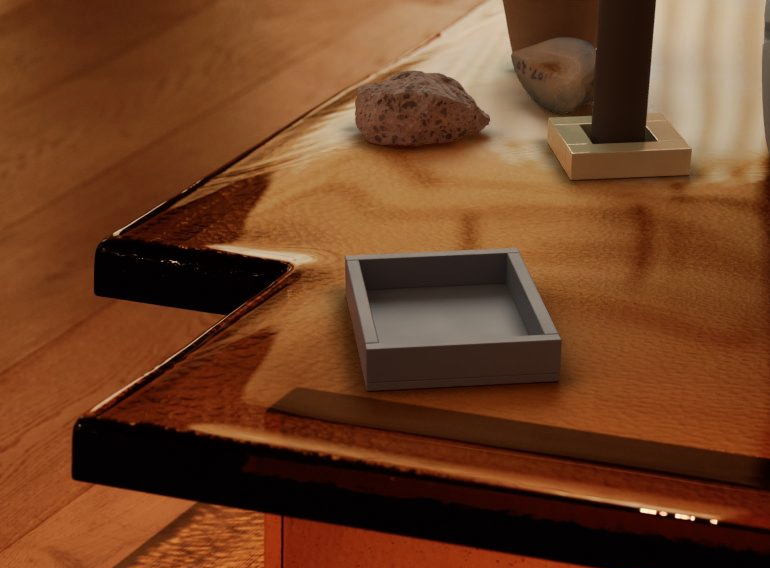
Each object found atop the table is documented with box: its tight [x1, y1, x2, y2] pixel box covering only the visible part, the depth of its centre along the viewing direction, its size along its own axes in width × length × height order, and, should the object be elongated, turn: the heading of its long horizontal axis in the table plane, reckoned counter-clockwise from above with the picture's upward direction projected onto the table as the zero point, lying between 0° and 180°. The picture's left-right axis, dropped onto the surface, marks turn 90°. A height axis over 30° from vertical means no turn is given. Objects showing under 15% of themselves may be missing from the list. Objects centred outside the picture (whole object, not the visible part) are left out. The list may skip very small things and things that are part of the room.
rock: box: [354, 70, 491, 147], centre depth 125 cm, size 9×11×4 cm
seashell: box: [510, 37, 596, 115], centre depth 131 cm, size 6×9×10 cm
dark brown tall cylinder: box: [590, 0, 657, 144], centre depth 116 cm, size 4×4×15 cm
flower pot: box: [502, 0, 599, 53], centre depth 139 cm, size 12×11×10 cm
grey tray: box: [344, 247, 563, 392], centre depth 92 cm, size 14×11×2 cm
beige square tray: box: [546, 112, 693, 181], centre depth 119 cm, size 9×9×2 cm
